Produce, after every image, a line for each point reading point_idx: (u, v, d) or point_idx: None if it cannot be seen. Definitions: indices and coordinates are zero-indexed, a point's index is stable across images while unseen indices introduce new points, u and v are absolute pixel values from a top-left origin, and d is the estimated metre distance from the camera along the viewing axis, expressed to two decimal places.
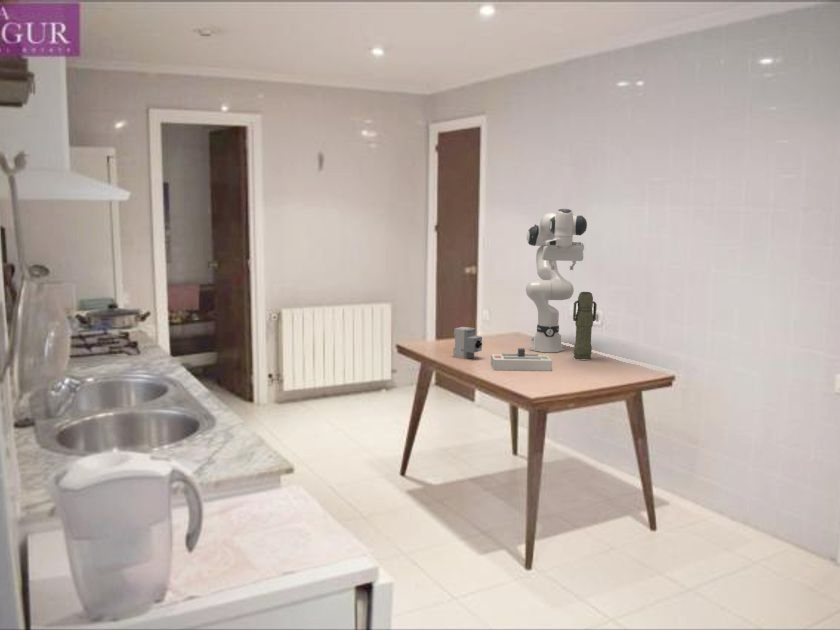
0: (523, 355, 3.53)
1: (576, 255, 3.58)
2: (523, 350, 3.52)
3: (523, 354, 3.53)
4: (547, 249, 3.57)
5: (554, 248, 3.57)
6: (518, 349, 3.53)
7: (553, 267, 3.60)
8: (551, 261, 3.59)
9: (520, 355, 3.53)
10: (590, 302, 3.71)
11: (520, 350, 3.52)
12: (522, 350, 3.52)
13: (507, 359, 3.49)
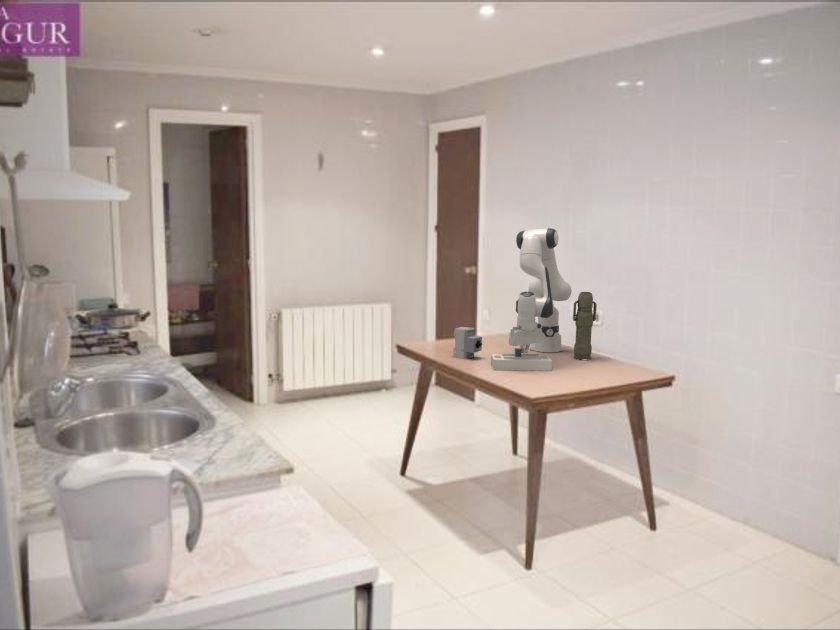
0: (520, 355, 3.53)
1: None
2: (520, 350, 3.52)
3: (520, 354, 3.53)
4: None
5: None
6: (515, 349, 3.53)
7: None
8: None
9: (517, 355, 3.53)
10: (590, 302, 3.71)
11: (517, 350, 3.52)
12: (519, 350, 3.52)
13: (507, 359, 3.49)
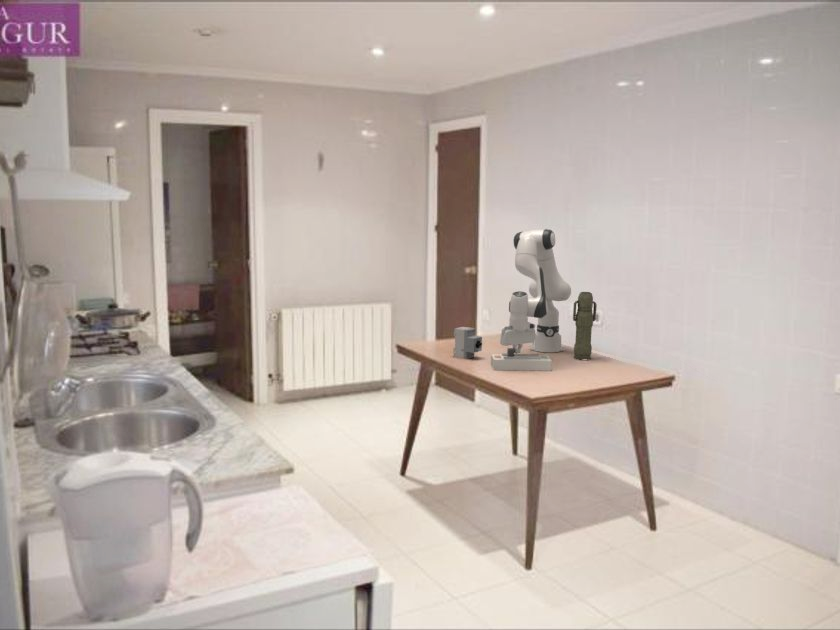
0: (512, 355, 3.53)
1: None
2: (512, 349, 3.52)
3: (513, 354, 3.53)
4: None
5: None
6: (507, 349, 3.53)
7: None
8: None
9: (509, 355, 3.53)
10: (590, 302, 3.71)
11: (509, 350, 3.52)
12: (511, 350, 3.52)
13: (507, 359, 3.49)
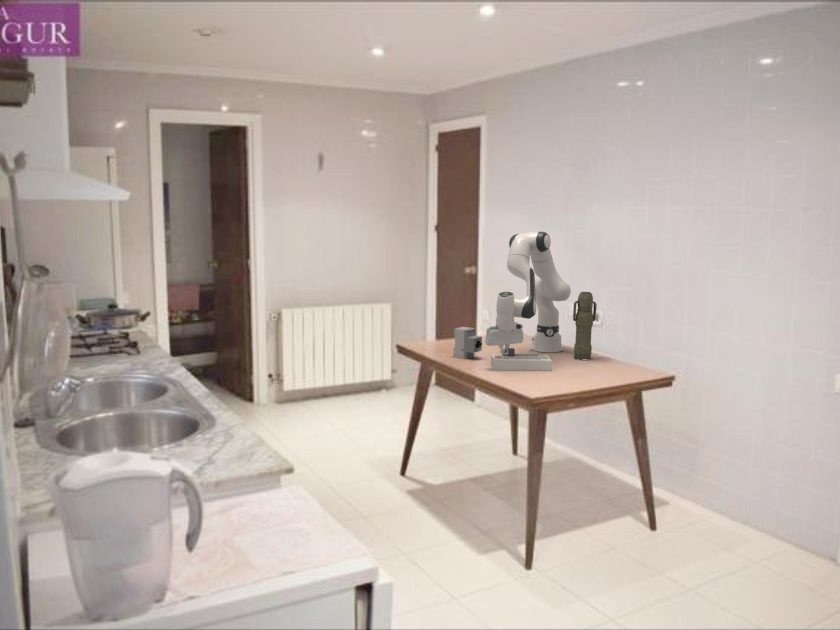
0: (513, 355, 3.53)
1: None
2: (513, 349, 3.52)
3: (513, 354, 3.53)
4: None
5: None
6: (508, 349, 3.53)
7: None
8: None
9: (510, 355, 3.53)
10: (590, 302, 3.71)
11: (510, 350, 3.52)
12: (512, 350, 3.52)
13: (507, 359, 3.49)
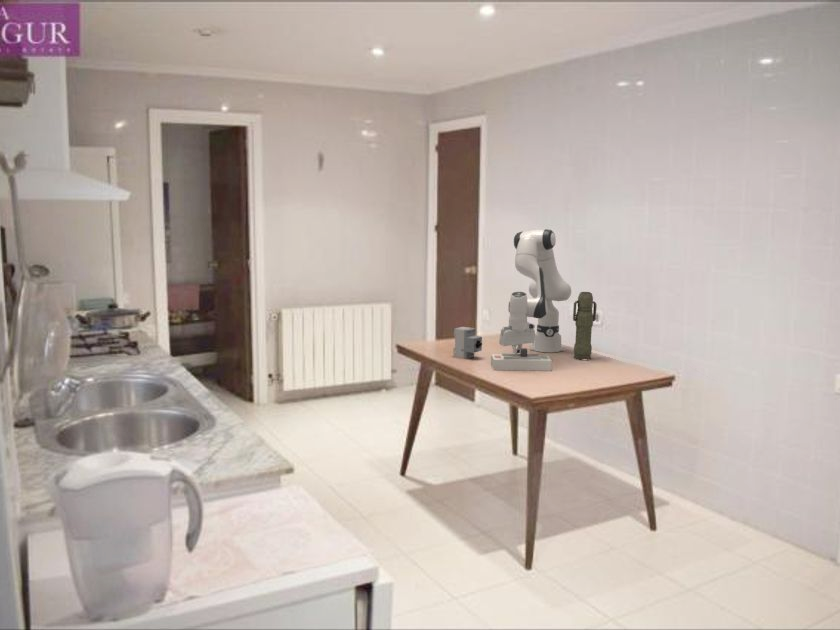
0: (526, 355, 3.53)
1: None
2: (526, 350, 3.52)
3: (526, 354, 3.53)
4: None
5: None
6: (521, 349, 3.53)
7: None
8: None
9: (523, 355, 3.53)
10: (590, 302, 3.71)
11: (523, 350, 3.53)
12: (525, 350, 3.53)
13: (507, 359, 3.49)
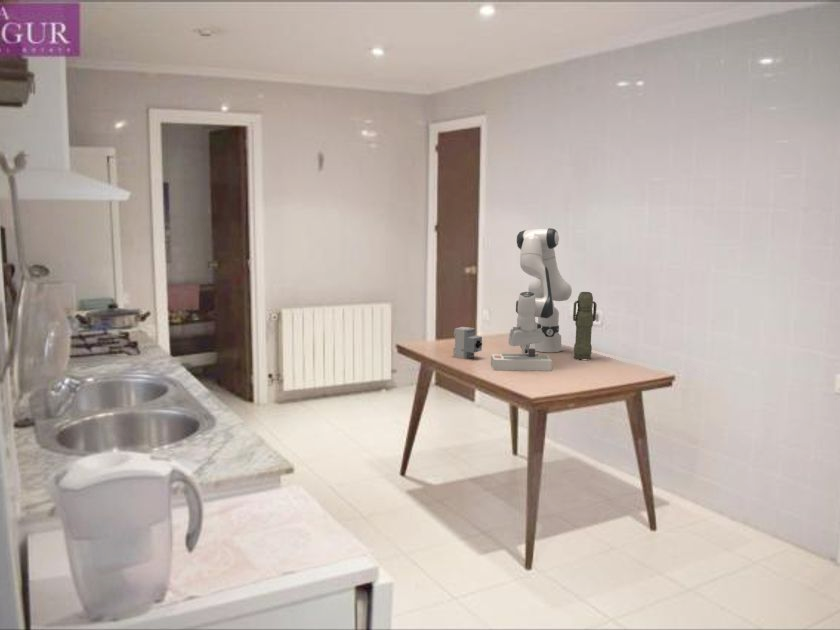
0: (533, 355, 3.53)
1: None
2: (533, 350, 3.53)
3: (534, 354, 3.53)
4: None
5: None
6: (528, 349, 3.53)
7: None
8: None
9: (530, 355, 3.53)
10: (590, 302, 3.71)
11: (530, 350, 3.53)
12: (532, 350, 3.53)
13: (507, 359, 3.49)
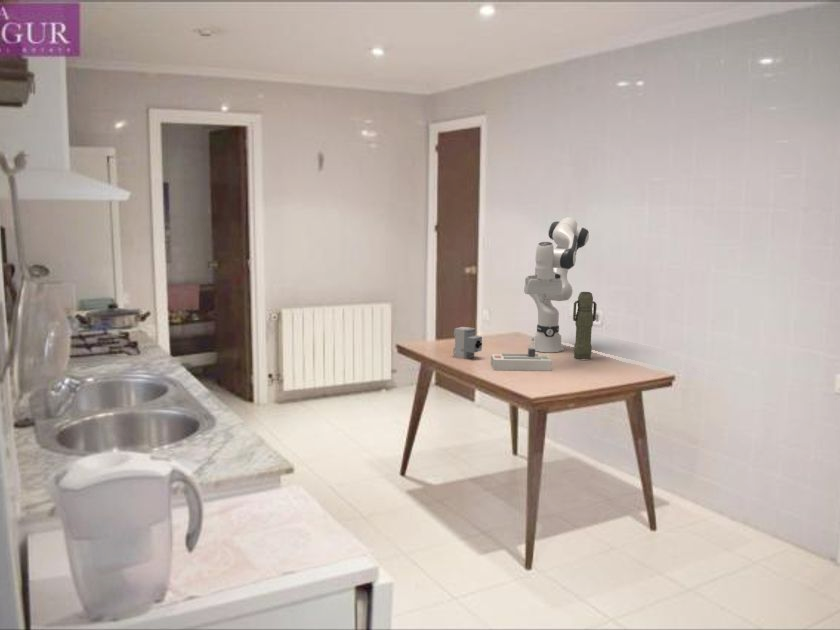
0: (533, 355, 3.53)
1: None
2: (533, 350, 3.53)
3: (534, 354, 3.53)
4: None
5: None
6: (528, 349, 3.53)
7: None
8: None
9: (530, 355, 3.53)
10: (590, 302, 3.71)
11: (530, 350, 3.53)
12: (532, 350, 3.53)
13: (507, 359, 3.49)
